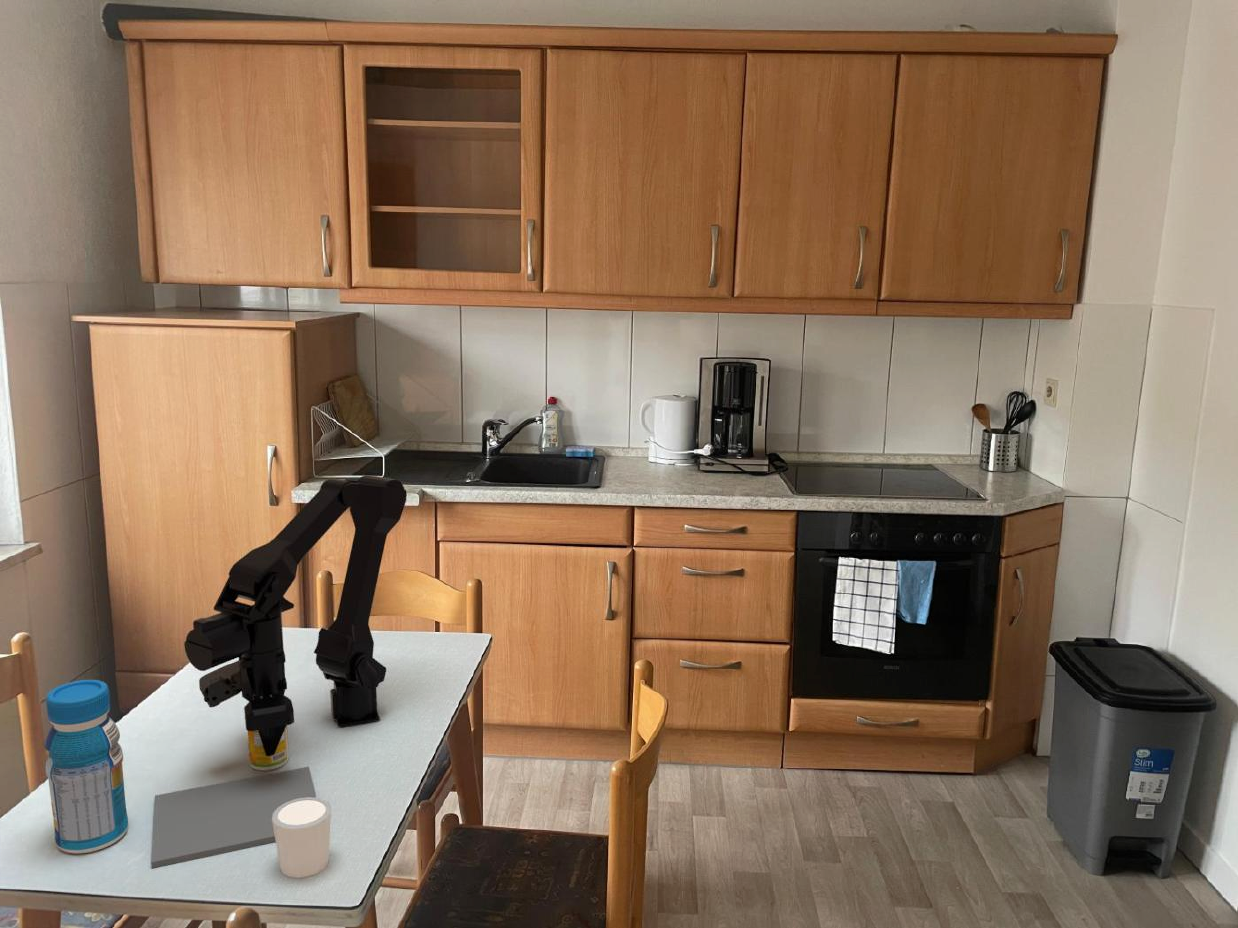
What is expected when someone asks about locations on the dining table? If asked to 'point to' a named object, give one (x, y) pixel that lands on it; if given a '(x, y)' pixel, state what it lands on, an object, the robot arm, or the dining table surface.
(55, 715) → the beverage bottle
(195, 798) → the charcoal mat
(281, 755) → the supplement bottle
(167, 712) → the dining table surface
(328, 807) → the cream cup
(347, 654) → the robot arm
